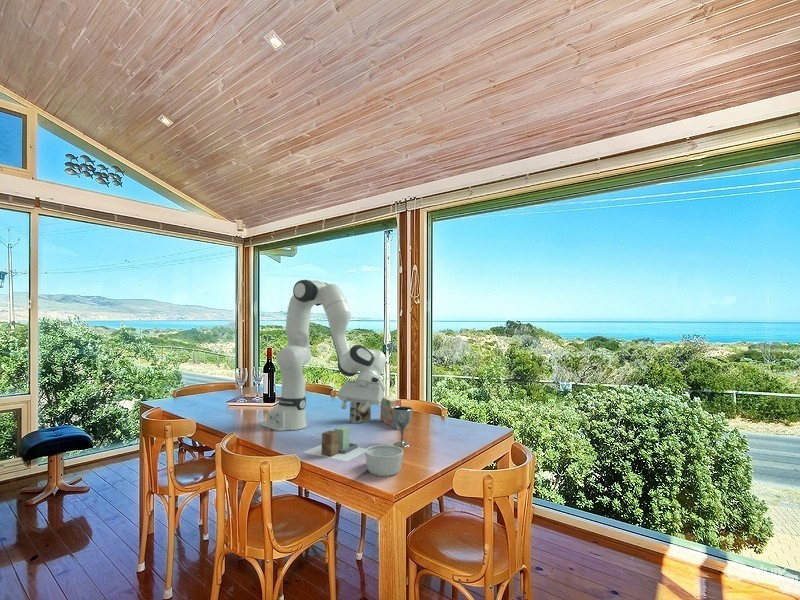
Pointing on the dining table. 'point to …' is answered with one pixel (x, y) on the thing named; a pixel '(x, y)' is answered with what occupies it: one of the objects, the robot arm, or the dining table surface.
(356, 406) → the coffee box
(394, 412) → the wine glass
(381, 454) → the ramekin
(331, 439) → the walnut block
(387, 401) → the colourful cardboard box
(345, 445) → the sage block
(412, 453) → the dining table surface
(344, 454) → the board
